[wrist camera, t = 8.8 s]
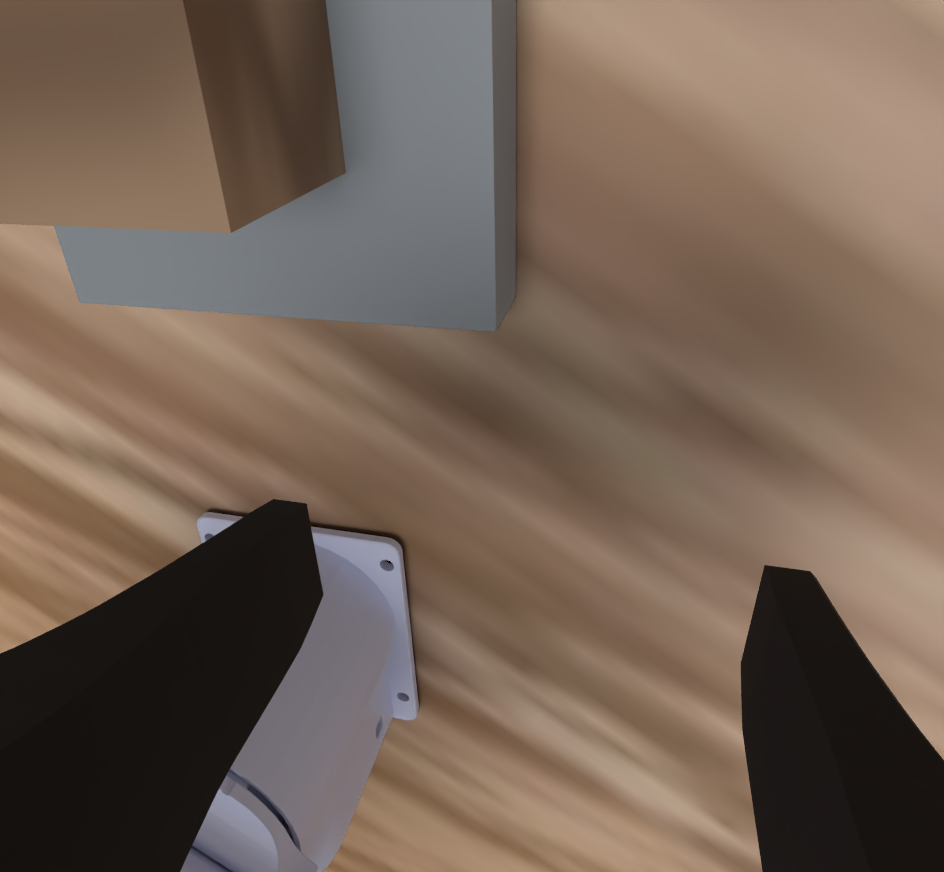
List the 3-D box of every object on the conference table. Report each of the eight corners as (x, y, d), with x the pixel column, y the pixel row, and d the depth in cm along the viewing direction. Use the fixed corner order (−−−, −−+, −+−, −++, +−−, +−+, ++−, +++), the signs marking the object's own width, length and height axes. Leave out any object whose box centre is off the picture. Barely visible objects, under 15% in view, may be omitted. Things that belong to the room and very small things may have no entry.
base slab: (515, 296, 19) (496, 332, 17) (136, 274, 22) (79, 302, 20) (516, -324, 13) (486, -384, 11) (-14, -250, 16) (-117, -287, 14)
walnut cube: (345, 172, 16) (230, 233, 12) (155, 168, 17) (-10, 223, 13) (313, -101, 14) (153, -143, 9) (92, -84, 15) (-139, -116, 11)
